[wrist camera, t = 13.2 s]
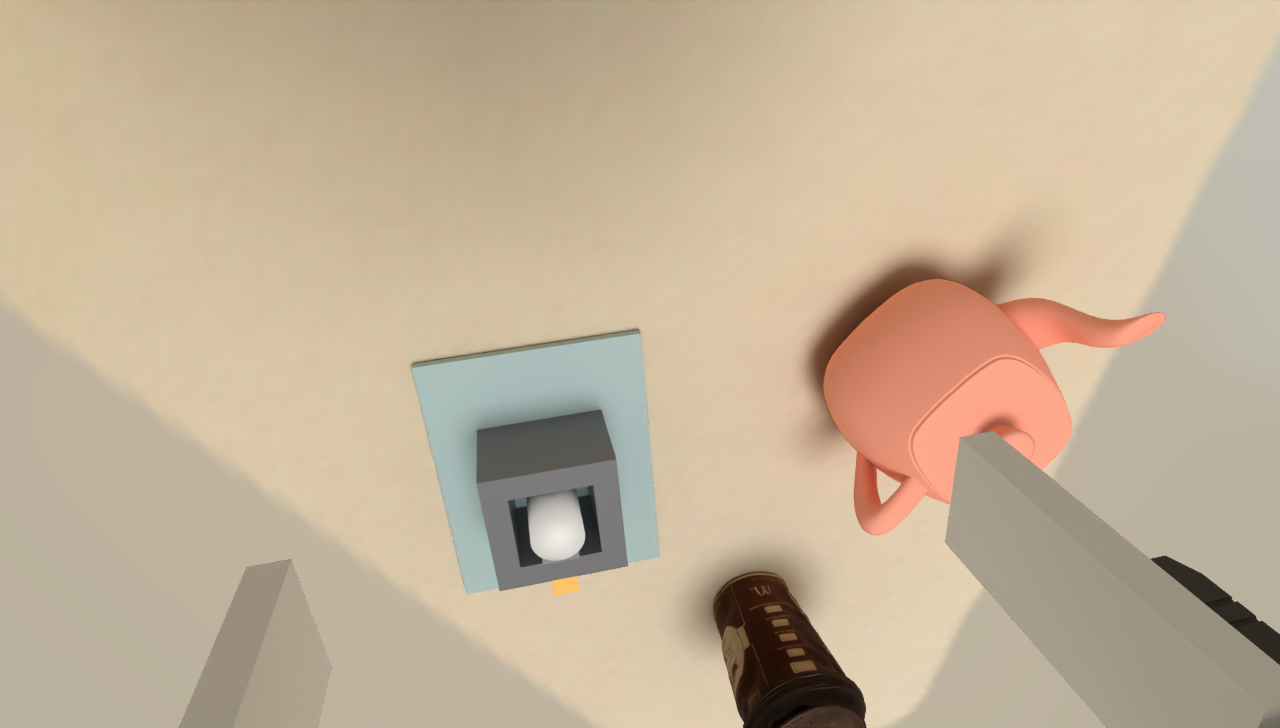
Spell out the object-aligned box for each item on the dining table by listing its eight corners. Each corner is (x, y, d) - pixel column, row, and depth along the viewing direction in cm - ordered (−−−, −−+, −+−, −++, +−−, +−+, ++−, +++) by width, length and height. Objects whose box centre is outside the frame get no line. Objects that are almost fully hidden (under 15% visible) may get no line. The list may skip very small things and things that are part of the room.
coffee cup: (720, 658, 61) (776, 810, 49) (679, 595, 57) (730, 743, 45) (814, 610, 60) (892, 751, 49) (780, 543, 56) (856, 679, 45)
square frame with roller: (476, 429, 46) (476, 483, 41) (601, 409, 48) (616, 459, 42) (500, 543, 51) (502, 605, 45) (614, 522, 52) (629, 580, 46)
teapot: (1067, 310, 52) (1219, 387, 41) (858, 497, 56) (948, 612, 45) (972, 182, 47) (1120, 234, 36) (747, 401, 50) (819, 507, 40)
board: (412, 363, 44) (400, 426, 38) (638, 329, 46) (665, 383, 40) (466, 588, 52) (464, 673, 46) (657, 551, 54) (682, 627, 48)
